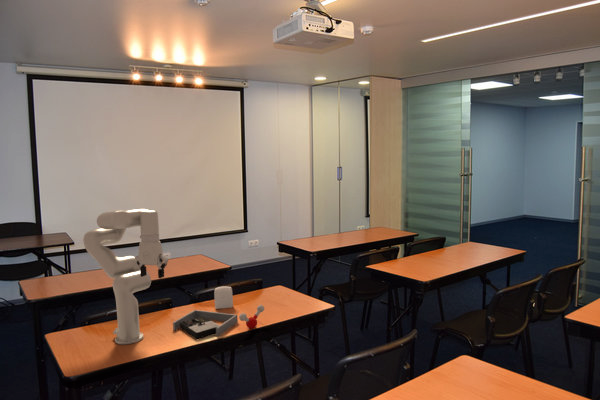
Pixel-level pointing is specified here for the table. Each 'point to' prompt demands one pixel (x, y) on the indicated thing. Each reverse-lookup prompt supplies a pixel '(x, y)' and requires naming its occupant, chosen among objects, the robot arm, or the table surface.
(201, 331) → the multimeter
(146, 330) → the table surface
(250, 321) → the molecular model
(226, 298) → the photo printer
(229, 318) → the grey low wall frame
